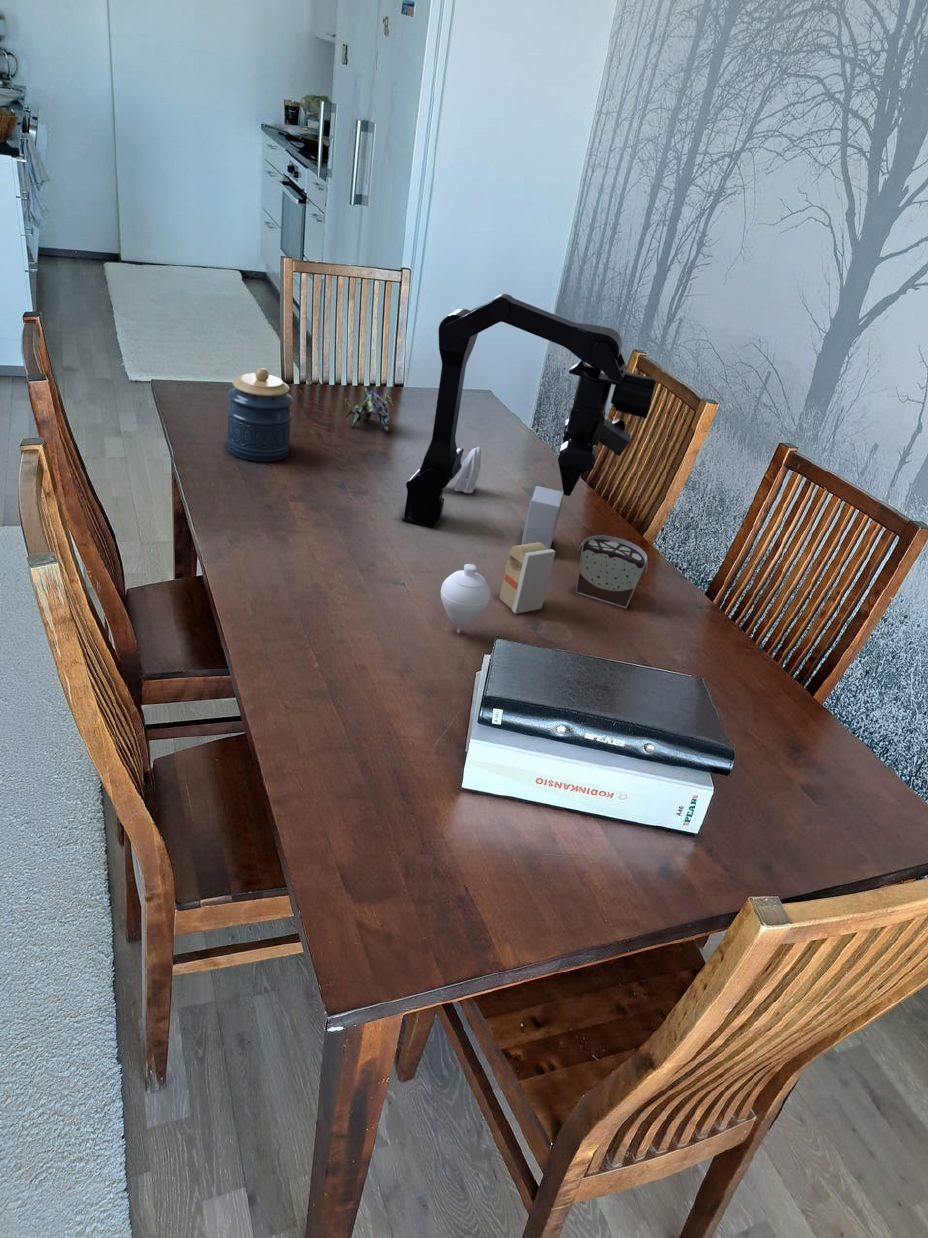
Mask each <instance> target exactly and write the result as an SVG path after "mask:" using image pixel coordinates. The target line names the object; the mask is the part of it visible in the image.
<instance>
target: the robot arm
mask: <svg viewBox="0 0 928 1238" xmlns="http://www.w3.org/2000/svg"><path fill="white" fill-rule="evenodd" d="M498 323H504V324H507V325H509V326H512V327H515V328H516V329H519V330H522V331H523V332H526V333H529V334H532V335H534V336H537V337H539V338H542V339H544V340H547V341H549V342H551V343H554V344H556V345H559V346H562V347H563V348H565V349H566V350H568V351H569V352H571V353H572V354H573V355H574V356H575V357H576V358H578V359H579V361H578V362H577V363H575V364H573V365H571V367H570V369H569V370H568V373H569V374H570V375H573V376H577V377H578V379H577V385H576V389H575V391H574V395H573V401H572V404H571V408H570V412H569V417H568V418H567V419H566V420H565V424H564V428H563V435H562V444H561V446H560V448H559V449H560V450H559V453H558V459H557V463H558V468H559V473H560V479H561V484H562V492H564V494H563V496H566V497H570V496H571V494H572V493H573V491H574V489H575V488H576V485H577V484H578V481H579V480H580V478H581V476H582V474H584V473H586V472H590V471H592V470H594V469H595V468H594V467H595V464H596V460H597V451H596V449H595V448H594V447H598V446H599V443H600V444H601V445H602V446H604V447H606V448H607V449H609V450H610V451H612V453H613V454H614V455H616V456H618V457H620V456H621V455H622V454H623V452H624V451H625V450H626V449H627V447H628V446H629V445H630V443H631V439H632V438H631V434H630V433H629V431H628V430H626V427H627V422H626V421H625V420H624V419H623V418H621V417H619V418H617V419H614V420H613V421H612V420H608V419H606V407H607V404H608V400H609V396H610V392H611V389H612V385H613V386H614V388H613V392H612V395H611V400H610V404H612V408H615V409H614V411H616V412H618V413H623V414H625V415H630V416H634V417H638V418H642V419H647V418H648V415H649V412H650V408H651V405H652V401H653V397H654V390H655V387H656V385H657V384H656V383H657V378H656V377H654V376H650V375H649V376H648V375H647V376H644V375H640V374H637V373H634V372H633V373H632V372H630V371H629V372H628V367H627V364H626V362H625V359H624V356H623V354H622V349H623V340H622V338H621V335H620V333H619V332H618V331H617V330H616V329H615V328H614V329H613V328H611V327H606V326H602V325H597V324H590V323H580V322H575V321H572V320H569V319H567V318H564V317H562V316H559V315H557V314H555V313H552V312H549V311H547V310H544V309H542V308H540V307H537V306H534V305H532V304H529V303H526V302H524V301H522V300H519V299H516V298H514V297H513V296H512V295H511V294H508V293H500V294H498V295H497V296H496V297H495V298H493V299H492V300H489V301H487V302H484V303H482V304H480V305H478V306H476V307H473V308H472V309H470V310H469V309H467V308H459V309H456V310H454V311H453V312H452V313H450V314H449V315H447V316H445V317H444V318H443V319H442V320H441V322H440V323H439V326H438V332H437V333H438V351H439V355H440V356H439V357H440V360H441V370H440V378H439V384H438V391H437V392H438V393H437V399H436V406H435V415H434V420H433V421H434V422H433V429H432V436H431V440H430V443H429V445H428V448H427V450H426V452H425V455H424V458H423V461H422V464H421V467H419V469H418V470H417V471H416V472H415V473H414V474H413V475H412V476H411V477H410V478H409V479H408V481H407V482H406V483H405V487H406V492H407V493H406V500H405V507H404V513H403V515H402V517H401V521H403V522H408V523H411V524H415V525H419V526H423V527H428V528H435V527H436V525H437V523H439V522H440V520H441V518H442V516H443V510H444V505H445V498H444V497H443V492H444V488H446V487H447V486H448V485H449V483H450V482H451V481H452V480H453V479H454V478H455V477H456V475H458V474H459V471H460V469H461V468H462V467H461V465H462V457H463V454H464V450H465V448H462V447H461V448H458V447H457V446H458V445H457V442H456V435H457V430H458V429H457V427H458V422H459V415H460V408H461V401H462V394H463V388H464V381H465V375H466V369H467V364H468V361H469V359H470V357H471V354H472V352H473V349H474V347H475V344H476V341H477V339H478V335H479V333H481V332H483V331H485V330H487V329H489V328H491V327H493V326H494V325H497V324H498Z"/></svg>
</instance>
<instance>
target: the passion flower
mask: <svg viewBox="0 0 928 1238" xmlns="http://www.w3.org/2000/svg"><path fill="white" fill-rule="evenodd" d="M363 392H364V394H365V397H366V399H365V400H364V401H363V400H362V401H361V404H355V406H354V407H352V405H351V404H350V403H349V402H348V401H349V398H348V397H345V398H344V405H345V406H349V407H350V410H349V411H348V412H347V413H345V415H344V417H343V418H344V419H346V418H348V417H349V416H350V415H354V419H353V422H352V425H351V426H350V427H351V428H353V427H354V426H355V424H357V423H358V422H360V421H361V419H362V418H363V417H364V416H365V417H364V419H365V421H366V420H370V419H371V416H372V415H378V417H379V426H380V428H381V430H382V431H384V432H388V431H389V427H388V426H389V424H390V423H391V422H392V417H391V410H390V409H389V408H388V407H387V404H388V405H390V406H391V407H392V408H395V407H396V405H395V403H394V401H393V398H391V396H390V394H389V393H388V392H386V393H385V394H384V399H385V401H384V400H383V399H382V396H380V395H379V394H378V393H377V391H373V390H372V389H371V390H370V391H369V390H368V388H367V387H364V388H363Z"/></svg>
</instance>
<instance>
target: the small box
mask: <svg viewBox="0 0 928 1238" xmlns="http://www.w3.org/2000/svg"><path fill="white" fill-rule="evenodd" d="M563 498H564V492H563V491H561V490H556V489H552V488H547V487H543V486H540V485H536V486H535V488H534V492H533V495H532V497H531V499H530V503H529V507H528V512H527V515H526V520H525V525H524V530H523V534H522V539H521V544H520V545H524V544H531V543H537V542H540V543H542V544H544V546H545V547H546V549H547V550H548V549H551V548H552V543H553V539H554V535H555V531H556V527H557V523H558V520H559V517H560V516H559V515H560V512H561V508H562V503H563Z"/></svg>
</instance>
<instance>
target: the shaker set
mask: <svg viewBox="0 0 928 1238" xmlns="http://www.w3.org/2000/svg"><path fill="white" fill-rule="evenodd" d="M481 465H482V448H481V447H480V446H477V447H473V448H472V449H471V450H470V452H469V453H468V454H467V455H466V457H465V459H464V460H463V462H461V467H462V468H461V469H460V470H459V472H458V473H457V477H456V480H455V484H454V487H453V490H455V491H456V492H463V493H465V494H472V493H473V492H474V490H475V487H476V484H477V480H478V477H479V475H480V473H481Z"/></svg>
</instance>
